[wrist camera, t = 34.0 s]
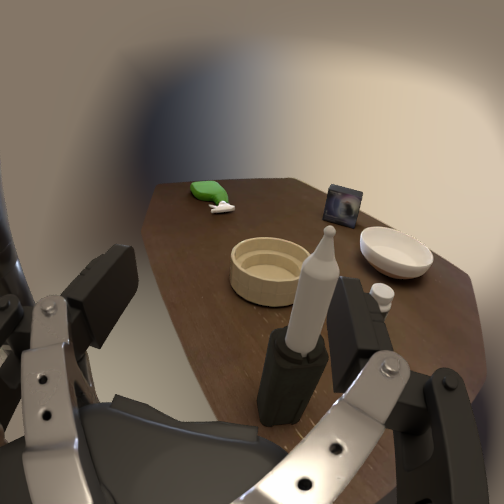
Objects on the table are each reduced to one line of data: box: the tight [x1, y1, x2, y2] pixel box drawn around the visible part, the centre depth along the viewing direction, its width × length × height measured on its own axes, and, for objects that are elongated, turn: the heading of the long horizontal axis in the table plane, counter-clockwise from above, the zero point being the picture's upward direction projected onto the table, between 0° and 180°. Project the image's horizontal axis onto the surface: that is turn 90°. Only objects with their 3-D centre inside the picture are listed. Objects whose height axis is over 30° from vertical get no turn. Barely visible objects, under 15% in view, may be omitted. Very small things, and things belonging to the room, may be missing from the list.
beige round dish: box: [230, 237, 310, 307], centre depth 54 cm, size 15×15×6 cm
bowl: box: [360, 227, 433, 279], centre depth 64 cm, size 20×20×6 cm
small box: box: [322, 184, 363, 229], centre depth 84 cm, size 11×6×10 cm, turn 67°
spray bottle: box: [190, 181, 235, 213], centre depth 91 cm, size 3×11×24 cm
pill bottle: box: [370, 283, 394, 321], centre depth 44 cm, size 5×5×8 cm
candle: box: [257, 226, 339, 427], centre depth 26 cm, size 5×5×25 cm
